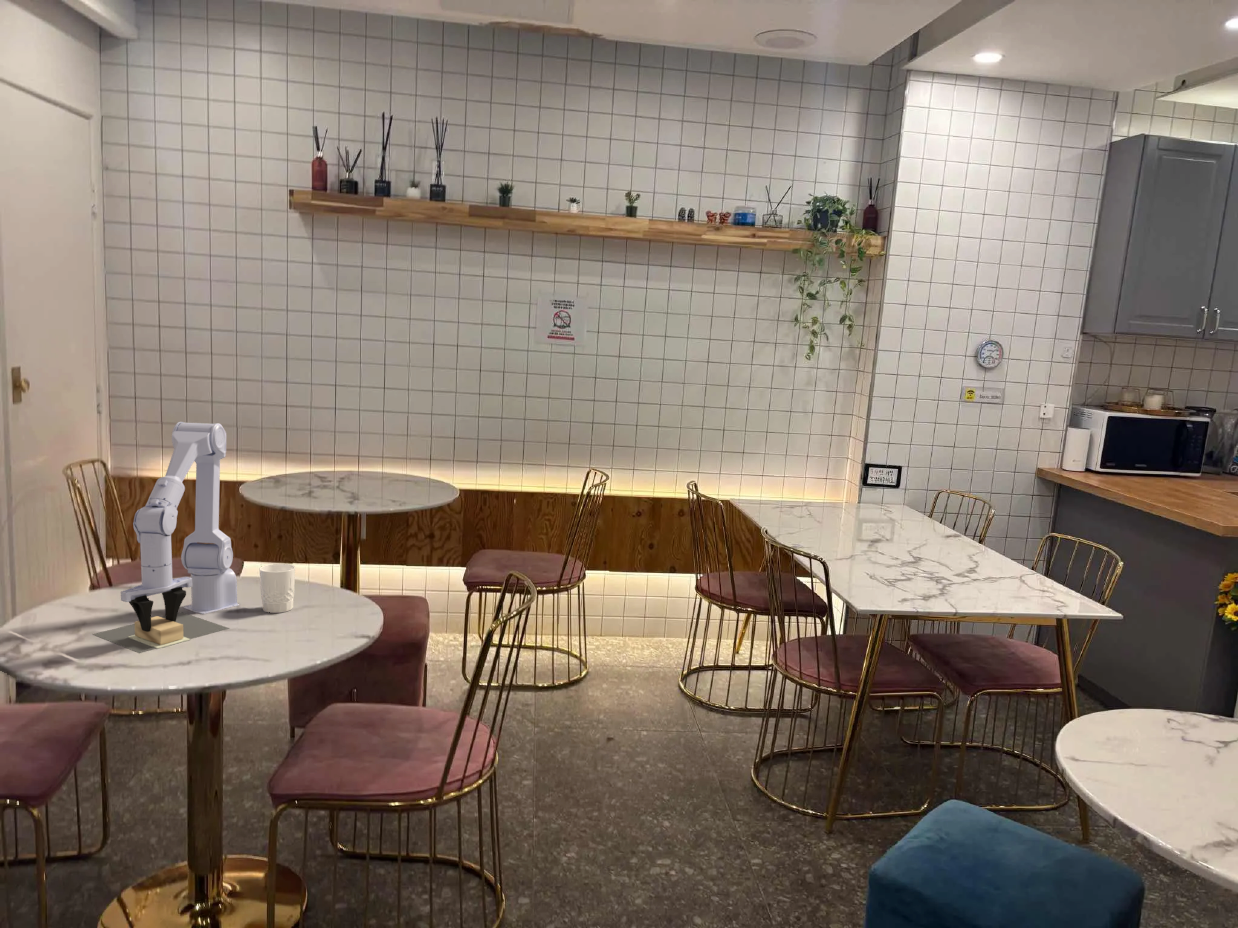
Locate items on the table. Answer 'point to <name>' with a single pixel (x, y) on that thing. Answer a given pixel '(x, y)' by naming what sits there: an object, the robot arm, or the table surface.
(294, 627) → the table surface
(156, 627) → the oak block
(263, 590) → the white cup
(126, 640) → the rubber mat
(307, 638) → the table surface
